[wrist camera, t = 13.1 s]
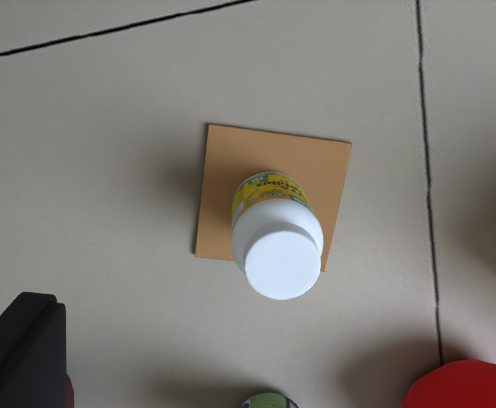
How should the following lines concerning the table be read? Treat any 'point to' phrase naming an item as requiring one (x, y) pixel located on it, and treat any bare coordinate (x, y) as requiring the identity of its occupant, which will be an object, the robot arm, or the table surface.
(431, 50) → the table surface
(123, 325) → the table surface
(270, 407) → the beverage can
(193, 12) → the table surface
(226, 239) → the coaster
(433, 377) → the tomato
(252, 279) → the supplement bottle
